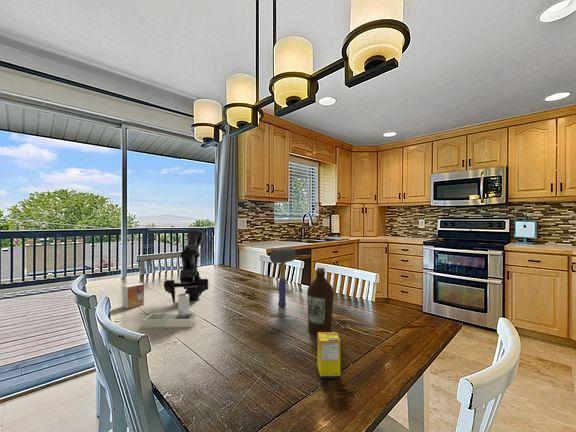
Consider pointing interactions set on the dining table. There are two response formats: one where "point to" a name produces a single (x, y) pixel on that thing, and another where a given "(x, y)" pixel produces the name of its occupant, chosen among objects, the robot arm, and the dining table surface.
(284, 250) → the rubber mallet
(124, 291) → the small box
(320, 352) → the supplement box
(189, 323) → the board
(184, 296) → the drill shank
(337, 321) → the dining table surface
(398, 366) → the dining table surface
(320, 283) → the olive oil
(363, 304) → the dining table surface
